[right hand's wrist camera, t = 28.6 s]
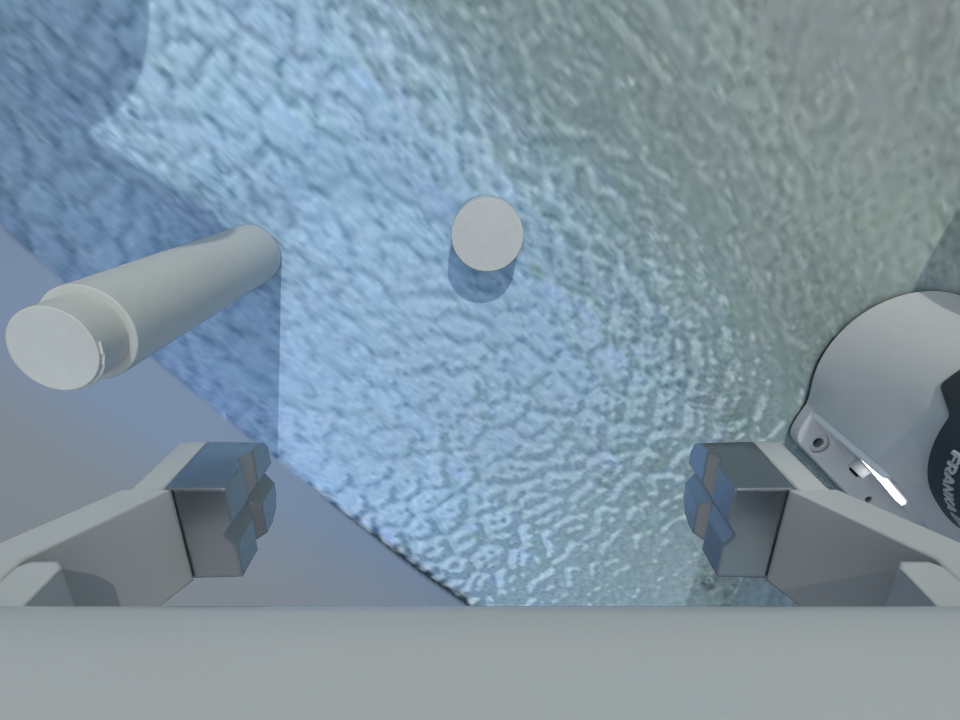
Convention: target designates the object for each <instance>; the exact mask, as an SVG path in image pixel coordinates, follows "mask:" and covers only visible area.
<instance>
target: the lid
mask: <svg viewBox="0 0 960 720" xmlns="http://www.w3.org/2000/svg"><path fill="white" fill-rule="evenodd" d="M451 239H452V244H453V248H454V250H455V252H456V254H457V256H458V257H459V258H460V259H461V260H462V261H463V262H464V263H465V264H466V265H468V266H469V267H471V268H473V269H476V270H479V271H495V270H499V269H501V268H503V267H505V266H507V265H508V264H509V263H511V262H512V261H513V260H514V259H515V257H516V256H517V255H518V253H519V251H520V249H521V246H522V243H523V227H522V223H521V220H520V218H519V216H518V214H517V212H516V211H515V209H514V208H513V207H512V206H511V205H510V204H509V203H508V202H506V201H505V200H503V199H501V198H499V197H495V196H489V195H485V196H479V197H476V198H473V199H471V200H469V201H468V202H467V203H465V204H464V205H463V206H462V207H461V208H460V210H459V211H458V213H457V215H456V217H455V219H454V222H453V226H452V231H451Z"/></svg>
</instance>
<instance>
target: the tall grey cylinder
mask: <svg viewBox="0 0 960 720" xmlns="http://www.w3.org/2000/svg"><path fill="white" fill-rule="evenodd" d="M280 263H281V253H280V249H279V246H278V244H277V242H276V241H275V239H274V238H273V237H272V236H271V235H270V234H269V233H268V232H267V231H265V230H264V229H262V228H260V227H257V226H254V225H240V226H237V227H234V228H231V229H228V230H225V231H222V232H219V233H216V234H213V235H210V236H207V237H204V238H201V239H198V240H195V241H192V242H189V243H186V244H183V245H180V246H177V247H174V248H171V249H168V250H165V251H162V252H159V253H156V254H153V255H150V256H147V257H144V258H141V259H138V260H135V261H132V262H129V263H126V264H123V265H120V266H117V267H114V268H111V269H108V270H105V271H102V272H99V273H96V274H93V275H90V276H87V277H84V278H81V279H78V280H75V281H72V282H69V283H66V284H63V285H60V286H58V287H55V288H53V289H51V290H50V291H48V292H47V293H46V294H45V295H44V296H43V297H42V298H41V300H40V302H39V303H38V304H35V305H32V306H29V307H26V308H24V309H22V310H20V311H18V312H17V313H16V314H14V316H13V317H12V318H11V319H10V321H9V323H8V325H7V328H6V345H7V348H8V351H9V353H10V356H11V357H12V359H13V361H14V362H15V364H16V365H17V366H18V367H19V368H20V370H21V371H22V372H24V373H25V374H26V375H27V376H28V377H30V378H31V379H32V380H34V381H36V382H37V383H39V384H41V385H44V386H46V387H49V388H53V389H58V390H74V389H82V388H85V387H89V386H91V385H92V384H94V383H95V382H97V381H99V379H103V378H111V377H115V376H118V375H120V374H122V373H123V372H125V371H127V370H128V369H130V368H131V367H133V366H134V365H136V364H138V363H139V362H141V361H142V360H144V359H146V358H147V357H149V356H150V355H152V354H153V353H155V352H157V351H158V350H160V349H161V348H163V347H164V346H166V345H168V344H169V343H171V342H172V341H174V340H175V339H177V338H178V337H180V336H182V335H183V334H185V333H186V332H188V331H189V330H191V329H193V328H194V327H196V326H197V325H199V324H200V323H202V322H204V321H205V320H207V319H208V318H210V317H211V316H213V315H215V314H216V313H218V312H219V311H221V310H222V309H224V308H226V307H227V306H229V305H230V304H232V303H233V302H235V301H237V300H238V299H240V298H241V297H243V296H244V295H246V294H248V293H249V292H251V291H252V290H254V289H255V288H257V287H259V286H260V285H262V284H263V283H265V282H266V281H268V280H269V279H271V278H272V277H273V276H274V275H275V274H276V273H277V271H278V270H279V267H280Z"/></svg>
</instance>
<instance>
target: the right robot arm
mask: <svg viewBox="0 0 960 720" xmlns="http://www.w3.org/2000/svg"><path fill="white" fill-rule="evenodd" d="M790 435H791V438H792V439H793V440H794V442H795V443H796V444H797V445H798V446H799V447H800V448H801V449H802V450H803V451H804V452H805V453H806V454H807V455H808V456H809V457H810V458H811V459H812V460H813V461H814V462H815V463H816V464H817V465H818V466H819V467H820V468H821V469H822V470H823V472H824V473H825V474H826V475H827V476H828V477H829V478H830V479H831V480H832V481H833V482H834V483H835V484H836V485H837V486H838V487H839V488H840V489H841V490H842V491H843V492H841V491H839V490H828V489H827V488H826V487H825V486H824V485H823V484H822V483H821V482H820V481H819V480H818V479H817V478H816V477H815V476H814V475H813V474H812V473H811V472H810V471H809V470H808V469H807V468H806V467H805V466H804V465H803V464H802V463H801V462H800V461H799V460H798V459H797V458H796V457H795V456H794V455H793V454H792V453H791V452H790V451H789V450H788V449H786V448H785V447H784V446H783V445H782V444H781V443H778V442H775V441H768V442H732V443H699V444H695V445H694V447H693V449H692V451H691V455H690V461H689V464H690V465H691V467H692V469H693V470H694V472H695V474H694V475H693V476H692V477H691V478H690V479H689V480H688V481H687V482H686V484H685V492H684V508H685V515H686V518H687V521H688V524H689V526H690V528H691V530H692V531H693V533H695V534H696V535H698V536H699V537H701V538H702V539H704V543H703V549H702V550H703V551H704V553H705V555H706V557H707V559H708V560H709V562H710V564H711V566H712V568H713V569H714V571H715V573H716V575H717V576H721V577H758V578H767V579H766V580H767V581H768V582H770V583H771V584H772V585H774V586H775V587H776V588H777V589H779V590H780V591H781V592H783V593H784V594H785V595H787V596H788V597H789V598H790V599H792V600H793V601H794V602H796V603H797V604H798V605H800V606H161V605H162V604H163V603H165V602H166V601H167V600H168V599H170V598H171V597H172V596H174V595H175V594H176V593H178V592H179V591H180V590H181V589H183V588H184V587H185V586H187V585H188V584H189V583H190V582H192V581H193V578H202V577H237V576H243V575H244V573H245V571H246V569H247V568H248V566H249V564H250V562H251V560H252V559H253V557H254V555H255V553H256V551H257V550H258V549H257V544H256V539H258V538H259V537H261V536H262V535H264V534H265V533H267V531H268V530H269V528H270V526H271V524H272V522H273V517H274V513H275V508H276V491H275V485H274V482H273V481H272V480H271V479H270V478H269V477H268V476H267V475H266V474H265V472H266V470H267V468H268V467H269V465H270V464H271V461H270V456H269V451H268V448H267V447H266V446H265V444H264V443H246V442H209V441H204V442H183V443H179V444H178V445H177V446H176V447H175V448H174V449H173V450H172V451H171V452H170V453H169V454H168V455H167V456H165V458H163V459H162V460H161V461H160V462H159V463H158V464H157V465H156V466H155V467H154V468H153V469H152V470H151V471H150V472H149V473H148V474H147V475H146V476H145V477H144V478H143V479H142V480H141V481H140V482H139V483H138V484H137V485H136V486H135V487H134V488H133V489H132V490H121V491H119V492H116V493H114V494H112V495H109V496H107V497H105V498H102V499H100V500H98V501H95V502H93V503H91V504H88V505H86V506H84V507H81V508H79V509H77V510H74V511H72V512H70V513H67V514H65V515H63V516H60V517H58V518H56V519H54V520H51V521H49V522H47V523H44V524H42V525H40V526H37V527H35V528H33V529H30V530H28V531H26V532H23V533H21V534H19V535H16V536H14V537H12V538H9V539H7V540H5V541H2V542H0V720H960V295H957V294H953V293H949V292H943V291H921V292H914V293H909V294H905V295H901V296H898V297H895V298H892V299H889V300H887V301H884V302H882V303H880V304H878V305H876V306H874V307H872V308H871V309H869V310H867V311H866V312H864V313H863V314H861V315H860V316H858V317H857V318H856V319H854V320H853V321H852V322H851V323H850V324H848V325H847V326H846V327H845V328H844V329H843V330H842V331H841V332H840V333H839V334H838V335H837V336H836V338H835V339H834V340H833V341H832V342H831V344H830V345H829V347H828V348H827V349H826V351H825V353H824V354H823V356H822V358H821V360H820V362H819V364H818V366H817V368H816V371H815V374H814V377H813V381H812V385H811V390H810V394H809V398H808V400H807V403H806V405H805V406H804V407H803V409H802V410H801V412H800V413H799V415H798V416H797V418H796V419H795V421H794V423H793V425H792V427H791V430H790ZM817 438H818V440H817V441H816V442H814V440H815V439H817ZM813 442H814V443H813Z"/></svg>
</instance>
